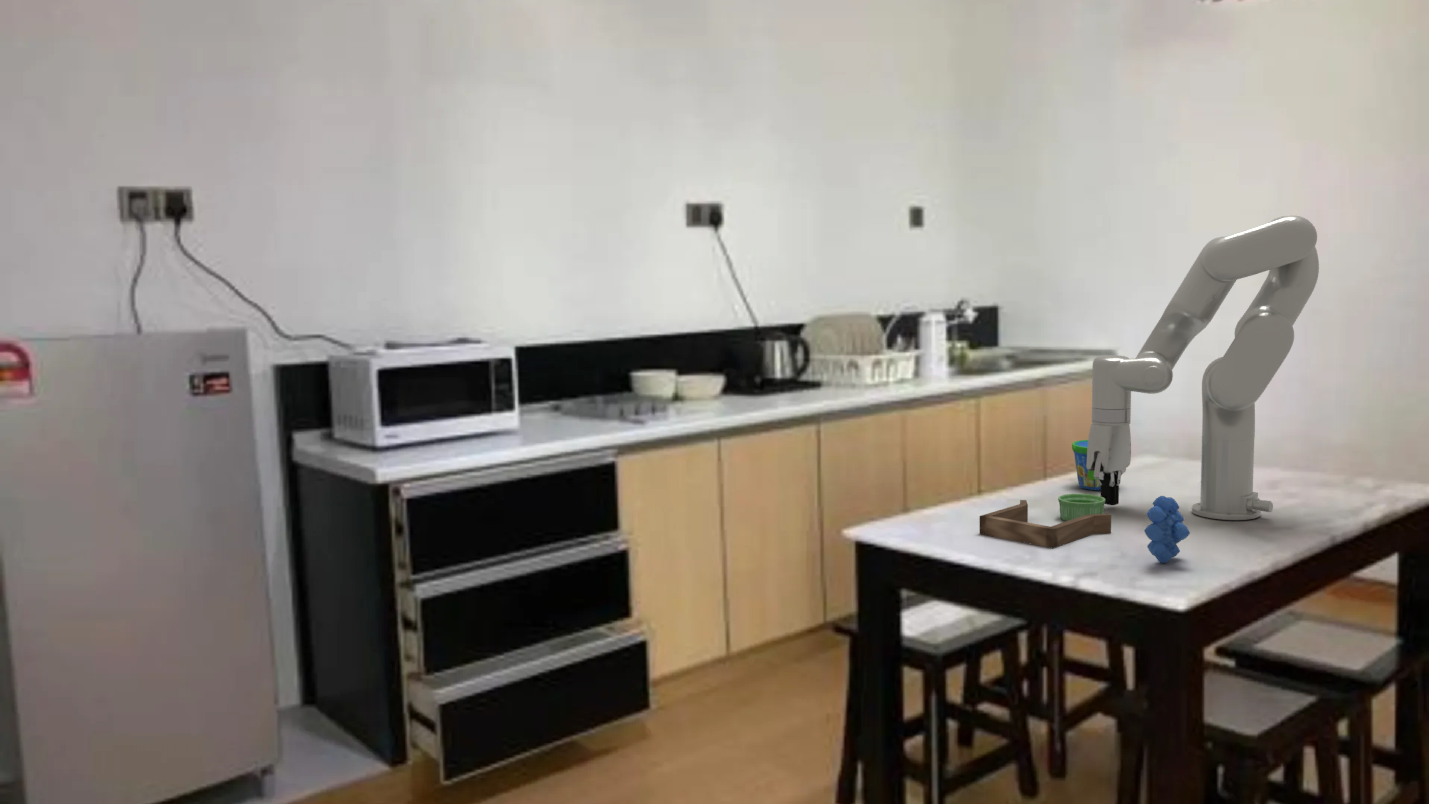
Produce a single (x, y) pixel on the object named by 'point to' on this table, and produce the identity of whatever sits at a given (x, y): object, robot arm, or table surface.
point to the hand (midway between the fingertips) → (1109, 503)
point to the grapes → (1165, 529)
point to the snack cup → (1084, 466)
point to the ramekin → (1080, 505)
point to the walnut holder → (1040, 527)
